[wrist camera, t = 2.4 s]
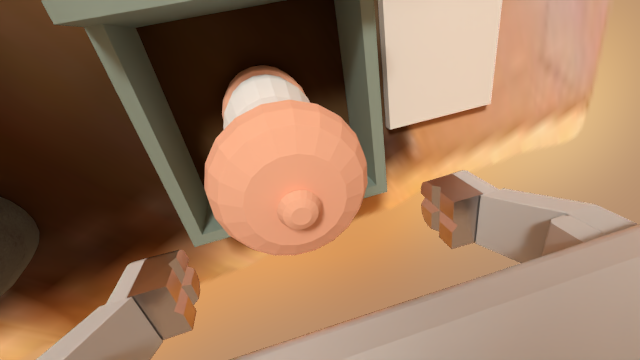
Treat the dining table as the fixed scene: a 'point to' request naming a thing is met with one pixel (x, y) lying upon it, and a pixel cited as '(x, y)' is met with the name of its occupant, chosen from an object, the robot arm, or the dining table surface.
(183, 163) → the grey open box
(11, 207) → the bottle
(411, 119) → the ceramic tile
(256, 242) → the pepper shaker
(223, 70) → the dining table surface
